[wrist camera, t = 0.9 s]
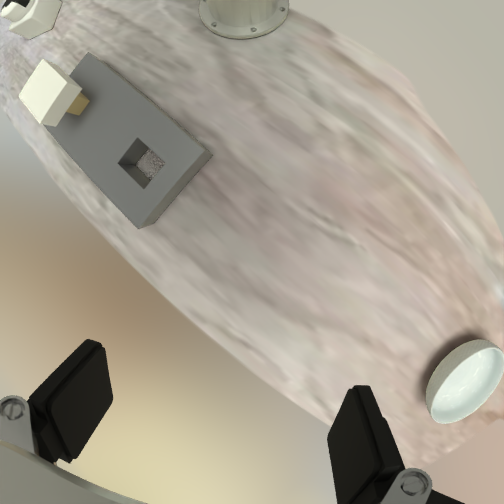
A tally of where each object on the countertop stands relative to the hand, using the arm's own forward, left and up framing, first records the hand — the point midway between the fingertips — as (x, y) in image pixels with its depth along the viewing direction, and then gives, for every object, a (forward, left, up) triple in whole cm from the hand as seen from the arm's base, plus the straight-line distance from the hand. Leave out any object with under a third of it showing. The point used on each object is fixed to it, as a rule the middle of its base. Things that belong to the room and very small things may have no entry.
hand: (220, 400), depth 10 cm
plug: (-26, -17, -24) cm, 39 cm away
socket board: (-20, -14, -29) cm, 37 cm away
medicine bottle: (-54, -28, -29) cm, 67 cm away
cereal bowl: (+31, +29, -29) cm, 52 cm away
